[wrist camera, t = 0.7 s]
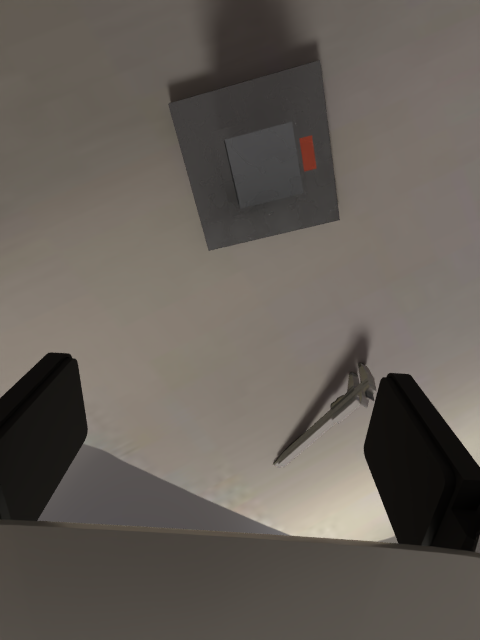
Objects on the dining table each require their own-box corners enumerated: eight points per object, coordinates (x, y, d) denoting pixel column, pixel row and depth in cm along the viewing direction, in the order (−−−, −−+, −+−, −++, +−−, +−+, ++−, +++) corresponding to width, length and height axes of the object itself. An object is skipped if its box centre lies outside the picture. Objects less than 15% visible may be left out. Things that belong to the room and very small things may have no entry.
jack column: (276, 135, 33) (293, 119, 20) (284, 182, 35) (305, 194, 22) (232, 147, 34) (222, 138, 21) (242, 192, 35) (239, 210, 23)
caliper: (359, 360, 45) (375, 388, 40) (365, 363, 46) (382, 393, 40) (272, 462, 53) (275, 499, 47) (279, 465, 53) (282, 502, 47)
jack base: (317, 64, 33) (340, 31, 24) (336, 217, 38) (360, 233, 30) (171, 105, 34) (147, 88, 26) (210, 247, 40) (200, 270, 31)
